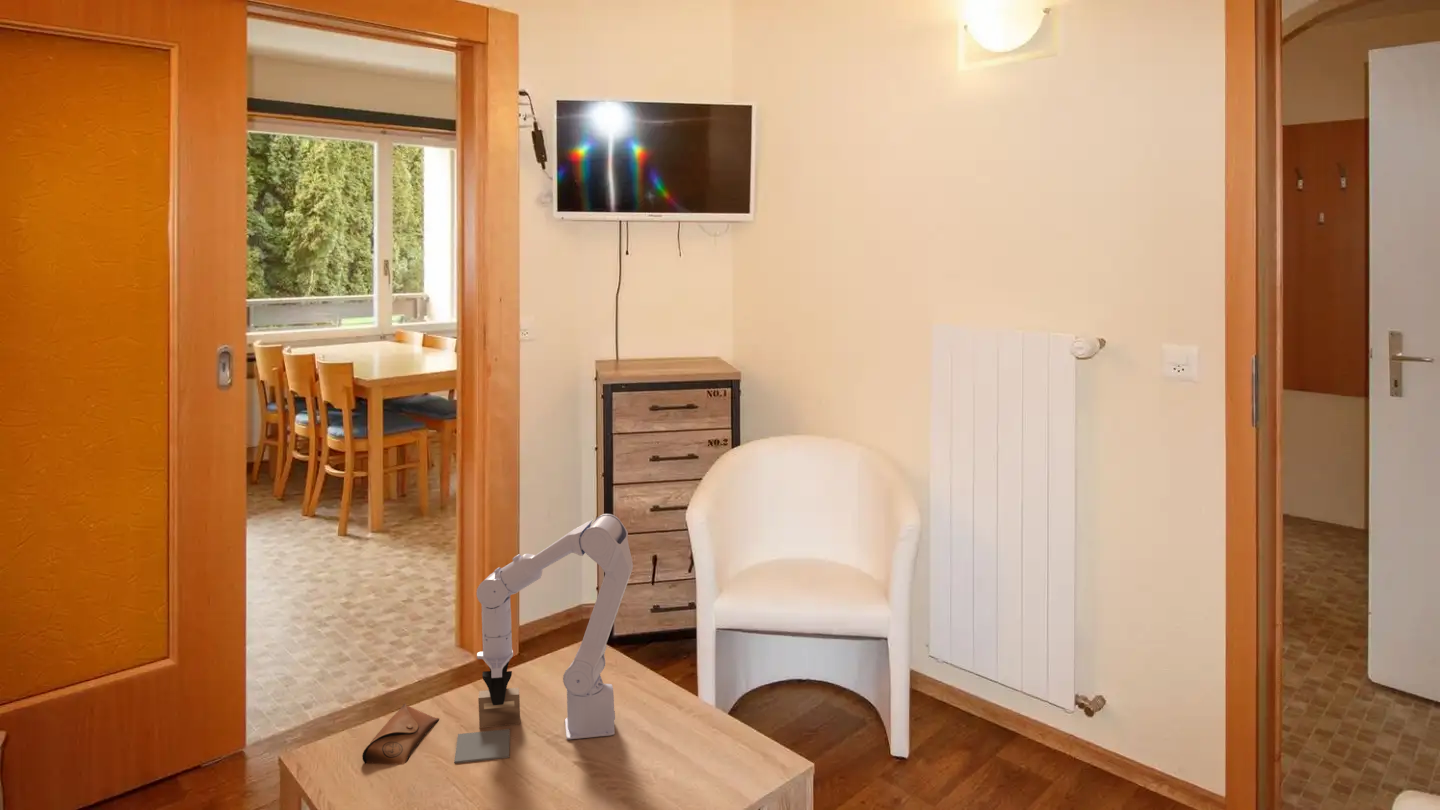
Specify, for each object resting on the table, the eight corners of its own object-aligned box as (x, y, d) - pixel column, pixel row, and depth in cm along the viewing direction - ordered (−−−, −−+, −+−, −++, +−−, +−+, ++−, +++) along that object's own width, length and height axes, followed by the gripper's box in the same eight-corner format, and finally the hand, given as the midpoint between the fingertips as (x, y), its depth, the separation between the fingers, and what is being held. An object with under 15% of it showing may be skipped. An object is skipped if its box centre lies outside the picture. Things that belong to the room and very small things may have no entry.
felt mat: (509, 730, 183) (509, 729, 183) (509, 757, 174) (508, 755, 174) (458, 735, 181) (458, 733, 181) (454, 763, 172) (454, 761, 171)
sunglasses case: (406, 765, 171) (386, 736, 170) (375, 781, 172) (356, 752, 171) (441, 717, 188) (424, 690, 188) (413, 731, 189) (396, 705, 189)
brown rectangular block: (520, 716, 189) (519, 687, 188) (520, 724, 186) (519, 694, 185) (480, 720, 187) (479, 691, 186) (479, 728, 184) (478, 698, 183)
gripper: (478, 619, 190) (480, 680, 192) (474, 648, 176) (476, 714, 178) (512, 616, 191) (514, 677, 193) (512, 646, 177) (513, 711, 179)
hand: (498, 695), depth 186 cm, fingers open, 7 cm apart
